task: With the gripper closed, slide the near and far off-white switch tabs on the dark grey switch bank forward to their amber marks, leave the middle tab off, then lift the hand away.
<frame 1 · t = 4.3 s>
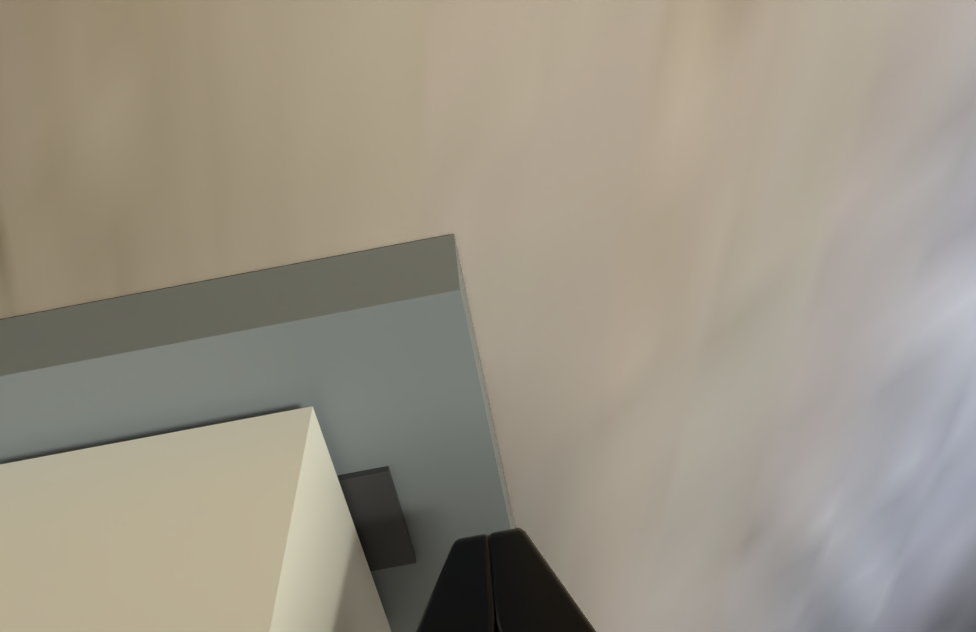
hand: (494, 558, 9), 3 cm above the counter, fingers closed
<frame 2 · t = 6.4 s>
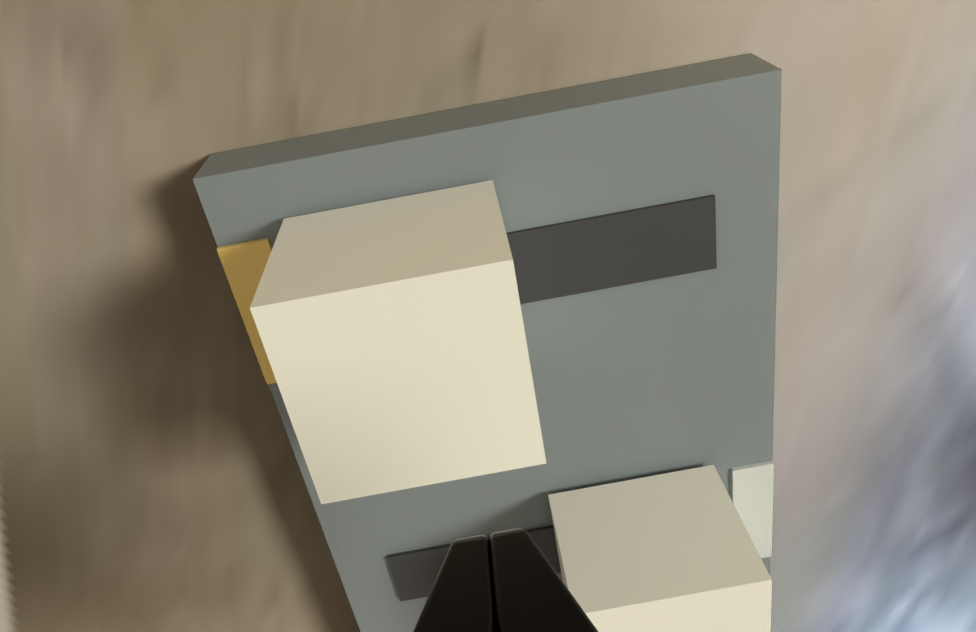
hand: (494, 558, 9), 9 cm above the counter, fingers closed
switch bank: (548, 506, 21), on the counter
middle tab: (655, 595, 18), point 3 cm above the counter, slide at 0.0 cm
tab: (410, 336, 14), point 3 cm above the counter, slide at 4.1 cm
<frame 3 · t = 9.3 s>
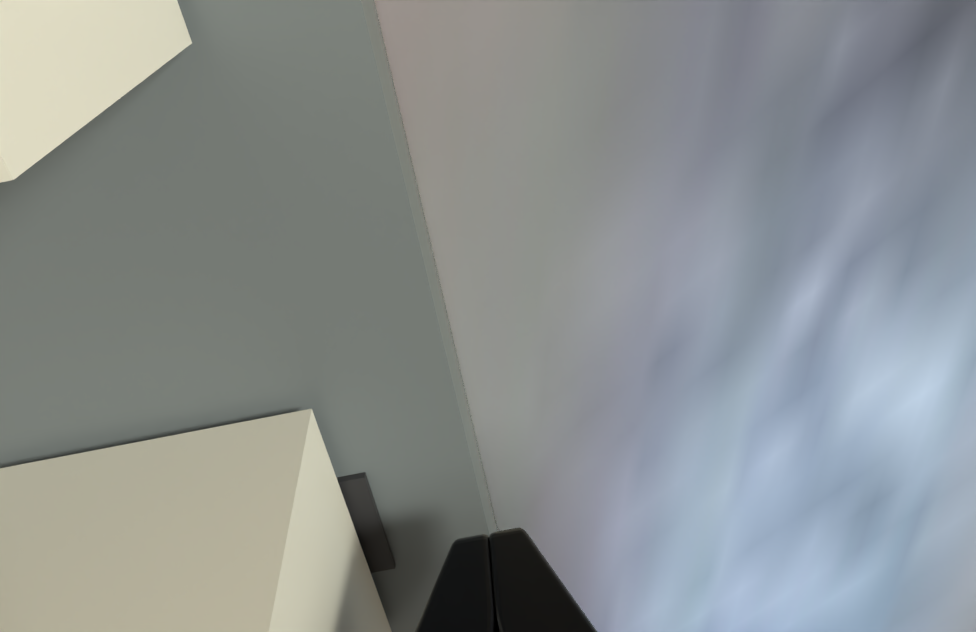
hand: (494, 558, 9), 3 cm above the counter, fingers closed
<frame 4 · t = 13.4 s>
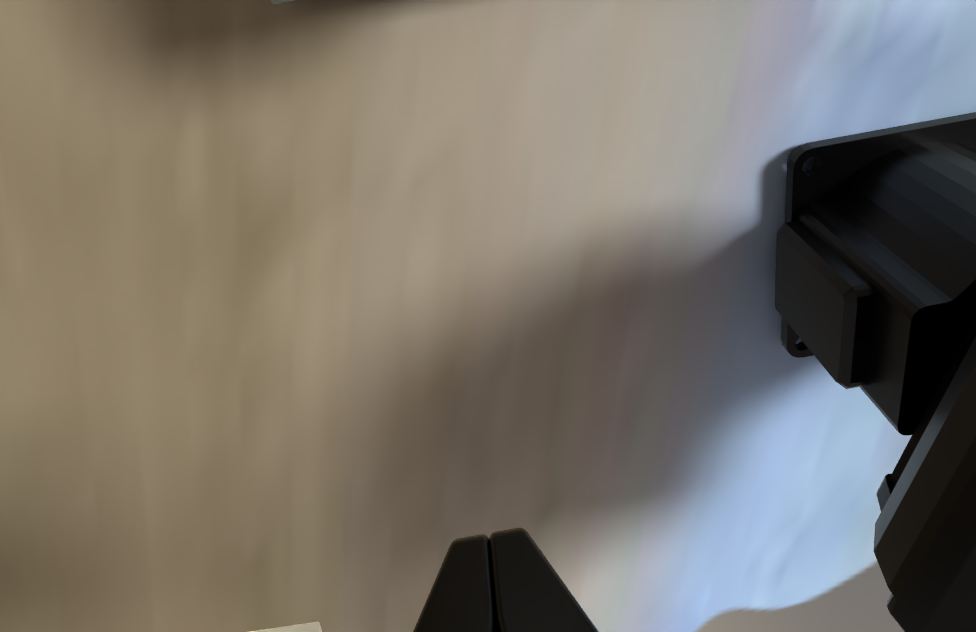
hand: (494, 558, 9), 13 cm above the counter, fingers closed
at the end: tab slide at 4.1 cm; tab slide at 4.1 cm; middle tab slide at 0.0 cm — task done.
